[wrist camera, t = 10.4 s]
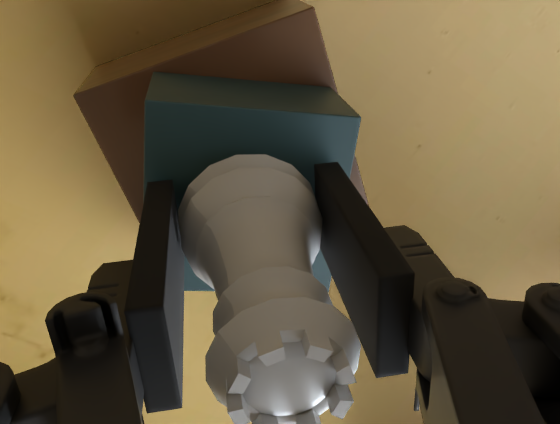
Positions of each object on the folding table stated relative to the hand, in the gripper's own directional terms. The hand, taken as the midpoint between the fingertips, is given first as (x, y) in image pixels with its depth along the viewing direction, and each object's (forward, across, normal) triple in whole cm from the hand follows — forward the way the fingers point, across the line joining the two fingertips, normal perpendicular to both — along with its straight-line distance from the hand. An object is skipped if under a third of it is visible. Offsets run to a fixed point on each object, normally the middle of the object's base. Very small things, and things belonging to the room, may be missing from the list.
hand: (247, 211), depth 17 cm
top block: (+4, 0, 0) cm, 4 cm away
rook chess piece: (0, 0, 0) cm, 1 cm away
